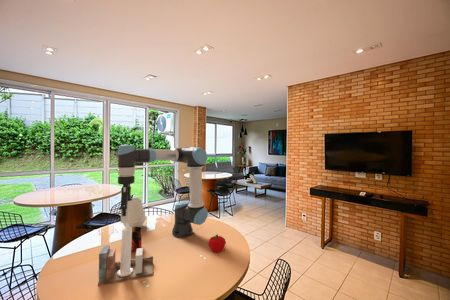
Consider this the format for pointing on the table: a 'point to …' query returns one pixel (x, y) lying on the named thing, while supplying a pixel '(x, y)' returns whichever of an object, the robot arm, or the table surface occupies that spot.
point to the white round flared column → (126, 252)
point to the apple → (216, 243)
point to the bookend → (139, 260)
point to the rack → (110, 267)
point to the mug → (136, 238)
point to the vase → (136, 214)
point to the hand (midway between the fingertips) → (125, 217)
